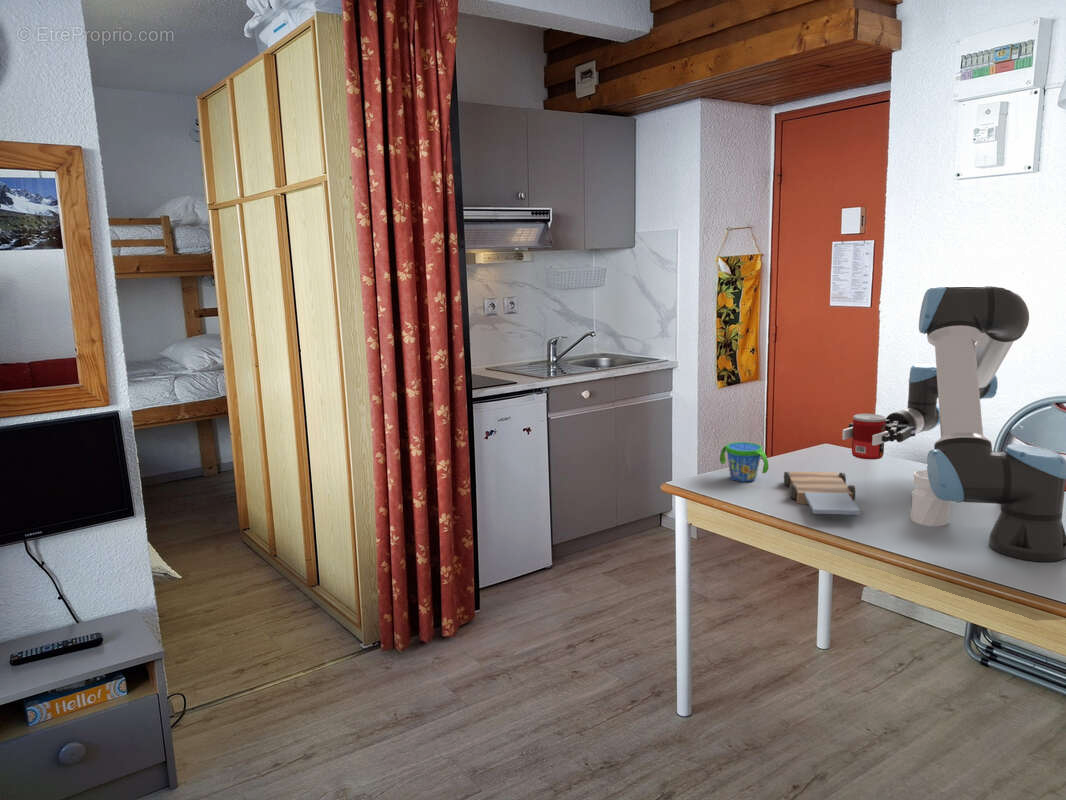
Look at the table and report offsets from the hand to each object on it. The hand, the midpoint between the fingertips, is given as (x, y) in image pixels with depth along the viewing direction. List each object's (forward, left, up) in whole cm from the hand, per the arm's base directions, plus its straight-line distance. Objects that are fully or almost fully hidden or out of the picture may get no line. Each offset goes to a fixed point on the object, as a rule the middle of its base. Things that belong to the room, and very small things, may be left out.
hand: (858, 437), depth 209 cm
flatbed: (+9, +7, -18) cm, 21 cm away
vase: (-16, -12, -18) cm, 27 cm away
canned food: (+3, -4, -6) cm, 8 cm away
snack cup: (+24, +24, -18) cm, 38 cm away
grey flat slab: (-2, +9, -15) cm, 17 cm away
